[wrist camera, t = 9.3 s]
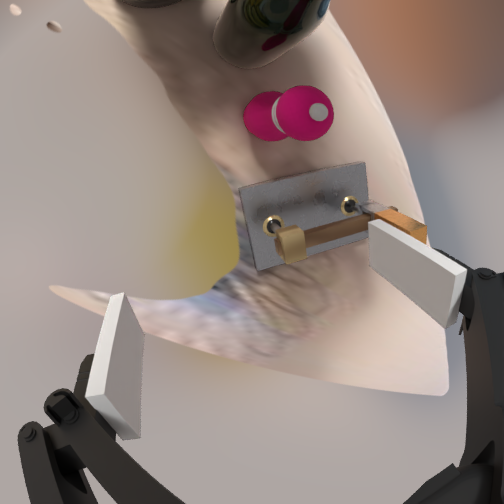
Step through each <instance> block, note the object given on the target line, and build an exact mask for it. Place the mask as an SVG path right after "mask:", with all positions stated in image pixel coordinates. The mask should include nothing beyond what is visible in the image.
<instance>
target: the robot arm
mask: <svg viewBox="0 0 504 504" xmlns="http://www.w3.org/2000/svg"><path fill="white" fill-rule="evenodd" d="M121 1H123V2H125V3H126V4H129V5H132V6H135V7H141V8H156V7H163V6H167V5H171V4H174V3H176V2H179V1H181V0H121ZM368 232H369V266H370V267H371V268H372V269H374V270H375V271H376V272H377V273H379V274H380V275H381V276H382V277H384V278H385V279H386V280H387V281H389V282H390V283H391V284H392V285H393V286H395V287H396V288H397V289H398V290H400V291H401V292H402V293H403V294H404V295H406V296H407V297H408V298H409V299H410V300H412V301H413V302H414V303H415V304H416V305H418V306H419V307H420V308H421V309H422V310H424V311H425V312H426V313H427V314H428V315H429V316H431V317H432V318H433V319H434V320H435V321H436V322H437V323H439V324H440V325H441V326H442V327H443V328H444V329H446V328H448V327H449V326H451V325H452V324H454V323H456V320H457V317H458V313H459V312H461V313H462V314H463V315H464V316H463V320H462V324H461V327H460V331H459V335H461V333H462V331H463V332H464V342H465V353H466V371H467V428H466V445H465V450H464V453H463V456H462V458H461V461H460V465H459V467H457V468H456V467H455V466H454V464H453V463H452V464H451V465H450V466H448V467H447V468H446V469H444V470H443V471H441V472H440V473H438V474H437V475H435V476H434V477H433V478H431V479H429V480H428V481H426V482H425V483H424V484H423V485H422V486H421V487H420V488H419V489H418V490H417V491H416V492H415V493H414V494H413V495H412V496H411V497H410V498H409V499H408V500H406V501H405V502H404V503H403V504H504V272H503V273H498V274H496V273H495V272H494V271H493V270H490V269H487V268H478V269H476V270H473V269H471V268H470V267H468V266H467V265H465V264H463V263H462V262H460V261H459V260H457V259H456V260H455V258H454V257H452V256H449V255H448V254H447V253H445V252H443V251H442V250H438V249H435V248H431V247H429V246H427V245H426V244H424V243H422V242H420V241H419V240H417V239H415V238H413V237H411V236H410V235H408V234H406V233H404V232H402V231H401V230H399V229H397V228H395V227H393V226H391V225H390V224H388V223H386V222H384V221H382V220H380V219H377V220H374V221H370V222H368ZM144 337H145V334H144V332H143V330H142V328H141V326H140V324H139V322H138V320H137V318H136V316H135V314H134V312H133V310H132V307H131V305H130V303H129V301H128V299H127V296H126V294H125V292H123V293H119V294H116V295H112V296H111V298H110V301H109V304H108V307H107V311H106V314H105V318H104V321H103V325H102V329H101V332H100V335H99V339H98V343H97V347H96V351H95V354H91V355H87V356H86V357H85V359H84V361H83V362H82V363H81V366H80V369H79V374H78V377H77V382H76V385H75V389H74V393H72V392H71V391H70V390H69V389H64V388H62V389H58V390H56V391H54V392H53V393H51V395H50V396H48V397H47V399H46V401H45V404H44V411H45V413H46V414H47V415H48V416H49V417H50V419H51V420H52V421H53V422H54V423H55V424H53V425H50V426H48V427H45V428H43V427H42V426H41V425H40V424H39V423H37V422H34V421H32V422H28V423H27V424H25V425H24V426H23V427H22V428H21V429H20V431H19V434H18V446H19V452H20V458H21V463H22V468H23V474H24V478H25V483H26V487H27V491H28V494H29V499H30V502H31V504H98V502H97V500H96V498H95V496H94V494H93V492H92V490H91V487H90V485H89V483H88V480H87V478H86V476H85V473H84V471H83V468H86V467H87V468H88V469H89V471H90V472H91V473H92V474H93V476H94V477H95V478H96V479H97V480H98V482H99V483H100V484H101V485H102V487H103V488H104V489H105V490H106V491H107V492H108V494H109V495H110V496H111V497H112V498H113V499H114V500H115V501H116V503H117V504H185V503H184V502H183V501H181V500H180V499H179V498H178V497H176V496H175V495H174V494H173V493H171V492H170V491H169V490H168V489H166V488H165V487H164V486H163V485H162V484H160V483H159V482H158V481H157V480H156V479H155V478H153V477H152V476H151V475H150V474H149V473H148V472H147V471H145V470H144V469H143V468H142V467H141V466H140V465H139V464H138V463H137V462H136V461H135V460H134V459H133V458H132V457H131V456H130V455H129V454H128V453H127V452H126V451H124V450H123V449H122V447H120V445H119V444H118V443H117V442H116V433H117V434H118V436H119V437H120V438H121V439H122V440H130V439H138V438H141V433H140V432H141V430H140V429H141V386H142V365H143V350H144Z"/></svg>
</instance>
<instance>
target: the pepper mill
mask: <svg viewBox="0 0 504 504" xmlns="http://www.w3.org/2000/svg"><path fill="white" fill-rule="evenodd" d="M333 118H334V112H333V107H332V104H331V102H330V100H329V98H328V97H327V96H326V95H325V94H324V93H323V92H322V91H321V90H319V89H317V88H315V87H312V86H296V87H293V88H290V89H289V90H287V91H286V92H285V93H280V92H275V91H270V92H263V93H261V94H259V95H257V96H255V97H254V98H253V99H252V100H251V102H250V103H249V104H248V105H247V106H246V108H245V110H244V115H243V119H244V123H245V126H246V127H247V129H248V130H249V131H250V132H251V133H252V134H254V135H255V136H257V137H258V138H260V139H262V140H265V141H279V140H282V139H285V138H286V137H288V136H290V137H292V138H294V139H297V140H300V141H311V140H315V139H318V138H320V137H321V136H323V135H324V134H325V133H326V132H327V131H328V130H329V129H330V127H331V125H332V123H333Z"/></svg>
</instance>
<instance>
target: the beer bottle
mask: <svg viewBox="0 0 504 504" xmlns="http://www.w3.org/2000/svg"><path fill="white" fill-rule="evenodd" d="M330 1H331V0H228V1H227V3H226V5H225V7H224V8H223V10H222V12H221V14H220V16H219V19H218V21H217V23H216V25H215V29H214V33H213V42H214V46H215V48H216V51H217V52H218V54H219V55H220V56H221V57H222V58H223V59H224V60H225V61H227V62H228V63H230V64H231V65H234V66H236V67H240V68H246V69H253V68H259V67H262V66H265V65H267V64H269V63H270V62H272V61H274V60H275V59H277V58H278V57H280V56H281V55H283V54H284V53H286V52H287V51H289V50H290V49H291V48H293V47H294V46H296V45H297V44H299V43H300V42H302V41H303V40H304V39H306V38H307V37H308V36H309V35H311V34H312V33H313V32H315V30H316V29H317V28H318V27H319V25H320V24H321V23H322V21H323V20H324V18H325V16H326V14H327V11H328V8H329V4H330Z"/></svg>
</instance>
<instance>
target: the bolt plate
mask: <svg viewBox="0 0 504 504" xmlns="http://www.w3.org/2000/svg"><path fill="white" fill-rule="evenodd" d="M238 189H239V193H240V198H241V203H242V207H243V212H244V216H245V221H246V226H247V230H248V235H249V240H250V244H251V249H252V253H253V258H254V263H255V267H256V269H257V271H260V270H263V269H267V268H270V267H273V266H277V265H280V264H284V263H285V262H284V261H283V259H282V258H281V257H280V256H279V255H278V253H277V252H276V248H275V242H274V239H275V238H276V234H275V233H274V231H273V230H272V229H271V228H270V226H271V224H272V223H276V224H277V225H278V226H280V227H281V228H284V227H288V226H291V225H295V224H296V225H297V226H298V227H299V228H300V229H302V230H303V231H304V230H307V229H311V228H314V227H318V226H322V225H325V224H329V223H332V222H336V221H340V220H343V219H347V218H351V217H354V216H358V215H359V214H358V213H356V212H354V211H353V210H352V209H351V208H350V207H351V206H355V203H359V202H363V201H367V200H368V188H367V176H366V165H365V162H355V163H350V164H344V165H339V166H334V167H329V168H324V169H319V170H315V171H310V172H305V173H300V174H296V175H291V176H287V177H282V178H278V179H274V180H269V181H265V182H261V183H257V184H253V185H249V186H245V187H241V188H238ZM368 237H369V234H367V233H366V232H364V231H363V232H359V233H356V234H353V235H349V236H346V237H343V238H339V239H336V240H333V241H329V242H326V243H322V244H319V245H316V246H312V247H309V248H306V252H307V256H310V255H313V254H317V253H320V252H323V251H326V250H330V249H333V248H336V247H339V246H343V245H346V244H349V243H352V242H356V241H359V240H362V239H365V238H368Z"/></svg>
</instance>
